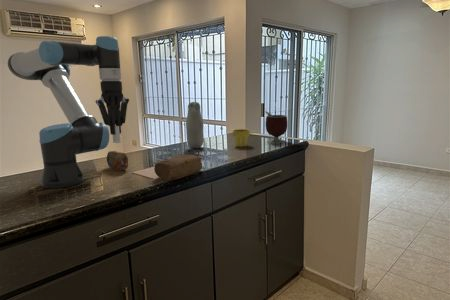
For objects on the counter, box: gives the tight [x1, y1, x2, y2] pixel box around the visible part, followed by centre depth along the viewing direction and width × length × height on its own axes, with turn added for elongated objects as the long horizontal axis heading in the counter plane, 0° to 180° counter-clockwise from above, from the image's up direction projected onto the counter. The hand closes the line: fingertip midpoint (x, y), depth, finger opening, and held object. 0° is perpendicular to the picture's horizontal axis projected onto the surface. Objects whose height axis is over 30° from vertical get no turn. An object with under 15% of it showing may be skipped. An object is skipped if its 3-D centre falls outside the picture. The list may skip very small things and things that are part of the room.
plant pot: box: [232, 128, 250, 148], centre depth 188 cm, size 10×10×10 cm
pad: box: [132, 166, 161, 181], centre depth 136 cm, size 20×17×1 cm
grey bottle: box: [185, 101, 205, 149], centre depth 183 cm, size 10×10×28 cm
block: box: [153, 153, 203, 182], centre depth 129 cm, size 11×8×20 cm
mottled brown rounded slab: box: [106, 150, 129, 172], centre depth 141 cm, size 15×3×8 cm, turn 49°
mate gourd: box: [264, 110, 288, 145], centre depth 196 cm, size 16×14×20 cm
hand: (116, 142), depth 118 cm, fingers closed
